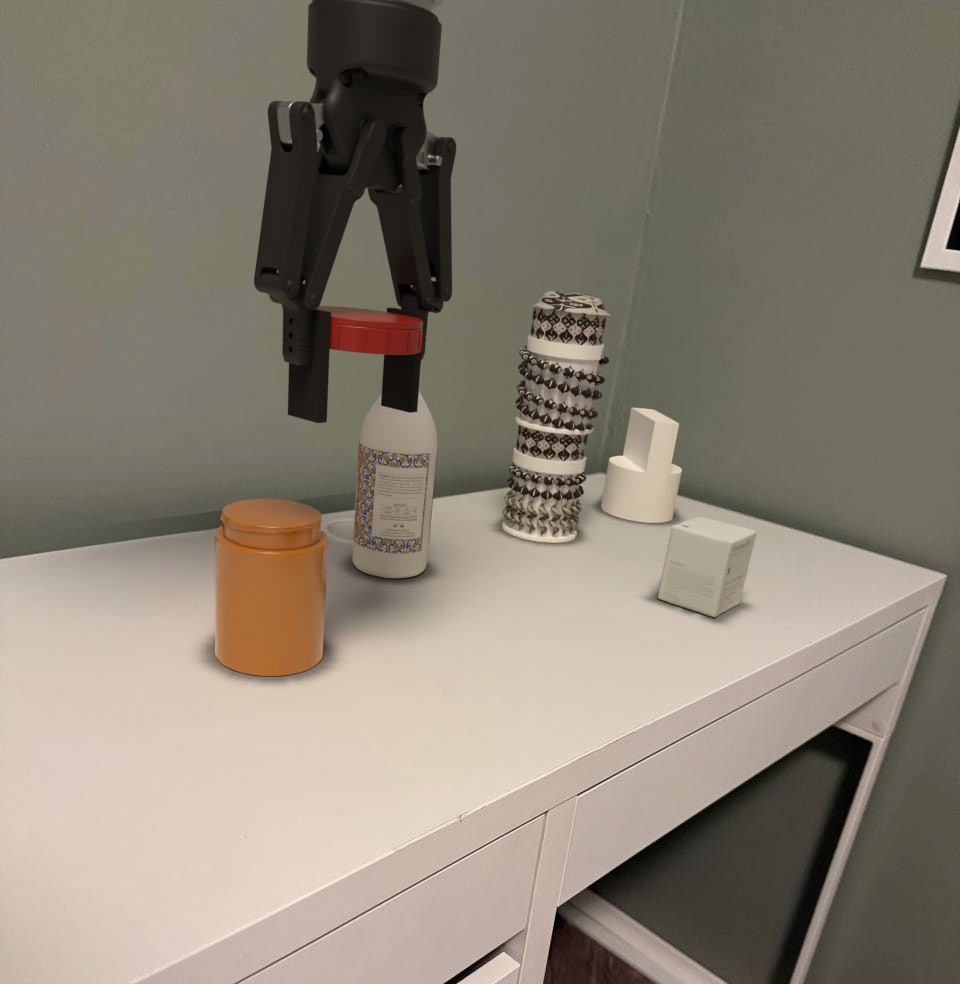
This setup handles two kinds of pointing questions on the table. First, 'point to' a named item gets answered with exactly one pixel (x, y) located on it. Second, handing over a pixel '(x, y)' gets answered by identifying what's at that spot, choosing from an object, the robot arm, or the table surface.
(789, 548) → the table surface
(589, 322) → the decorative candle
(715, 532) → the product box
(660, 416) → the cylinder with rectangular tab
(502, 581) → the table surface
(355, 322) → the lid
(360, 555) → the bath foam
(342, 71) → the robot arm
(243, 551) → the jam jar
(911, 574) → the table surface
